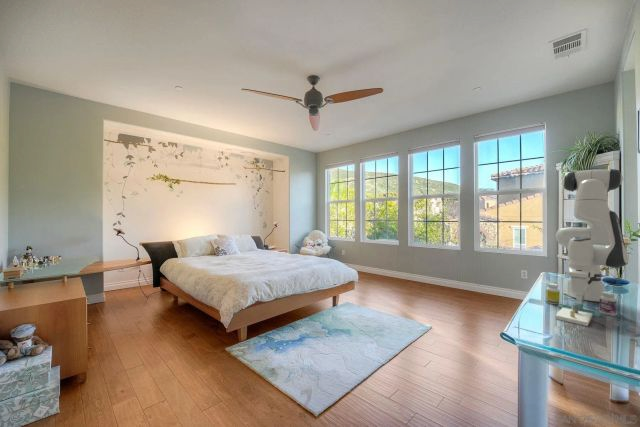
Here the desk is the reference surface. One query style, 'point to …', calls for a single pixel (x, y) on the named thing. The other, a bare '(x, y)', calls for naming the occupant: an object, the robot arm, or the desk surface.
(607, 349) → the desk surface
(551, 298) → the supplement bottle
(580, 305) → the teal bar
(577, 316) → the post board
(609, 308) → the pill bottle
